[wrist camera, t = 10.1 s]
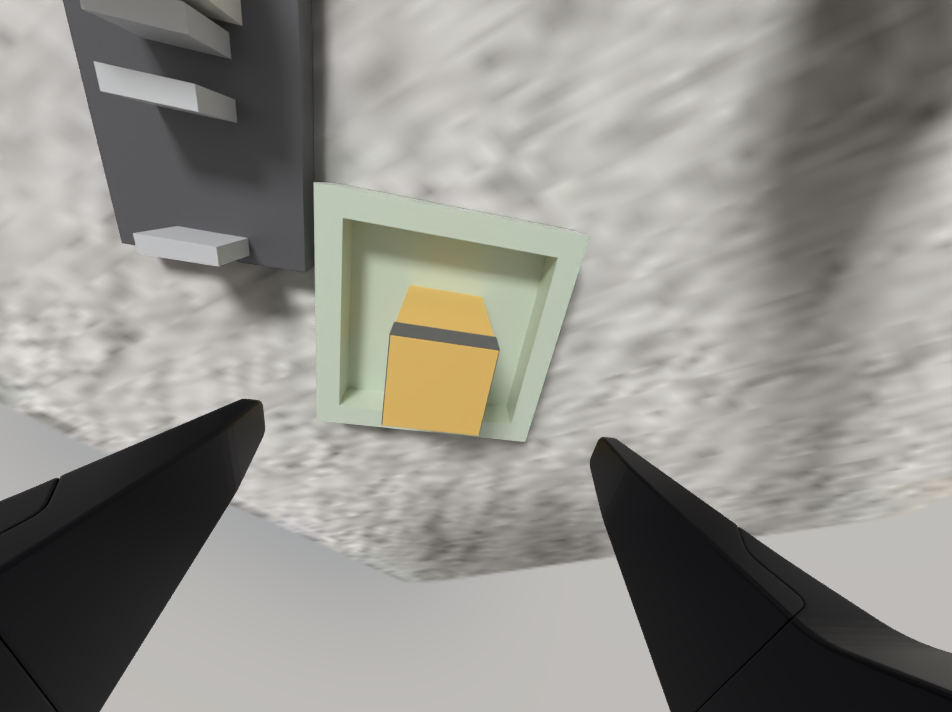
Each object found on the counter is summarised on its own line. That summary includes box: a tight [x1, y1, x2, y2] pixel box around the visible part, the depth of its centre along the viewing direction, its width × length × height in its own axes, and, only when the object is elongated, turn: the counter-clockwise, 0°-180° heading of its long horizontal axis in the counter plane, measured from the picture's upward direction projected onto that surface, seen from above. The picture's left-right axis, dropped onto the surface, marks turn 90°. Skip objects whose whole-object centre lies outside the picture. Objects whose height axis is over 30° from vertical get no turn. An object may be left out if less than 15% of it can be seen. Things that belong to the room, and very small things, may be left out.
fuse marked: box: [381, 285, 500, 436], centre depth 17 cm, size 4×4×7 cm
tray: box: [314, 182, 590, 442], centre depth 19 cm, size 12×12×2 cm
